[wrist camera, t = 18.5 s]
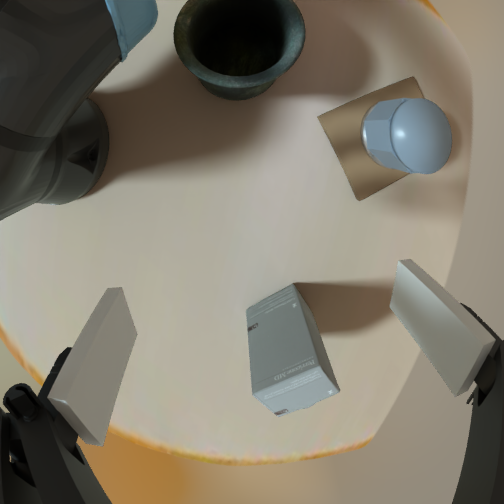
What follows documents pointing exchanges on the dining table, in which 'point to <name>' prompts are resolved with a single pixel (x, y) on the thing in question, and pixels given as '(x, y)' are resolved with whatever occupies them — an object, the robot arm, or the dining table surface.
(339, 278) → the dining table surface
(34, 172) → the robot arm
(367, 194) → the base board
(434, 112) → the cap
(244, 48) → the mug
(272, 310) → the skincare box
